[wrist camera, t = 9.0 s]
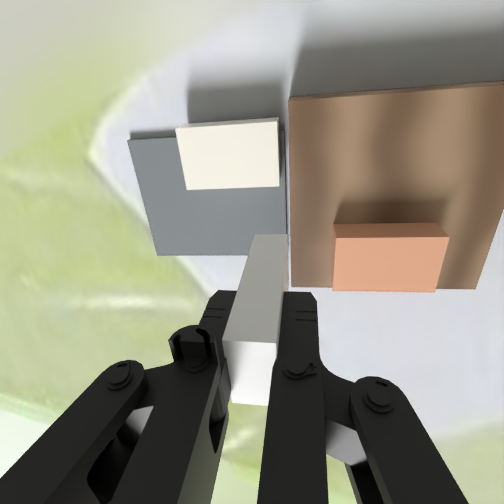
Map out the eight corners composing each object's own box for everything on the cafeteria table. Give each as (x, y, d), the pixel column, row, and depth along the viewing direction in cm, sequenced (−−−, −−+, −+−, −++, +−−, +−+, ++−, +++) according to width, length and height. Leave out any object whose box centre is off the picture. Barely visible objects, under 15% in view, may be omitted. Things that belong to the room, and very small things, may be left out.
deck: (509, 80, 23) (547, 81, 19) (455, 264, 31) (475, 289, 27) (289, 96, 25) (288, 100, 22) (291, 264, 33) (291, 287, 30)
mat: (284, 129, 26) (283, 131, 26) (286, 252, 32) (286, 255, 32) (130, 139, 28) (127, 140, 28) (159, 252, 34) (157, 255, 34)
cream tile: (278, 117, 25) (277, 121, 23) (280, 177, 28) (279, 186, 26) (184, 123, 27) (175, 128, 24) (194, 181, 29) (186, 190, 27)
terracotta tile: (436, 222, 25) (449, 236, 22) (423, 274, 27) (434, 292, 25) (332, 224, 26) (336, 238, 24) (330, 274, 28) (332, 290, 26)
